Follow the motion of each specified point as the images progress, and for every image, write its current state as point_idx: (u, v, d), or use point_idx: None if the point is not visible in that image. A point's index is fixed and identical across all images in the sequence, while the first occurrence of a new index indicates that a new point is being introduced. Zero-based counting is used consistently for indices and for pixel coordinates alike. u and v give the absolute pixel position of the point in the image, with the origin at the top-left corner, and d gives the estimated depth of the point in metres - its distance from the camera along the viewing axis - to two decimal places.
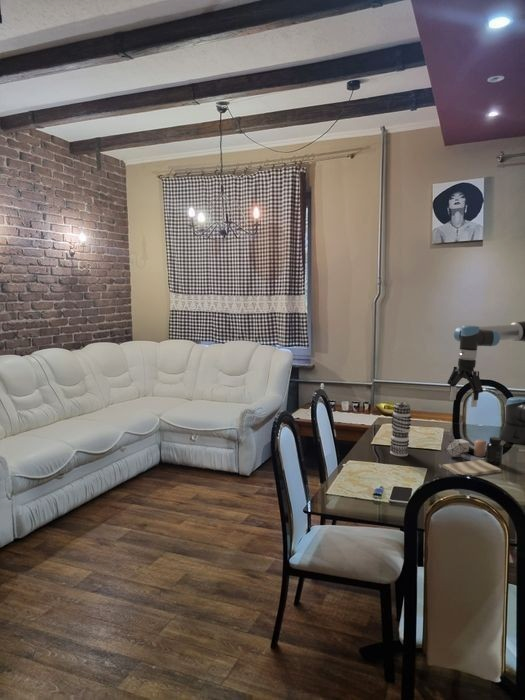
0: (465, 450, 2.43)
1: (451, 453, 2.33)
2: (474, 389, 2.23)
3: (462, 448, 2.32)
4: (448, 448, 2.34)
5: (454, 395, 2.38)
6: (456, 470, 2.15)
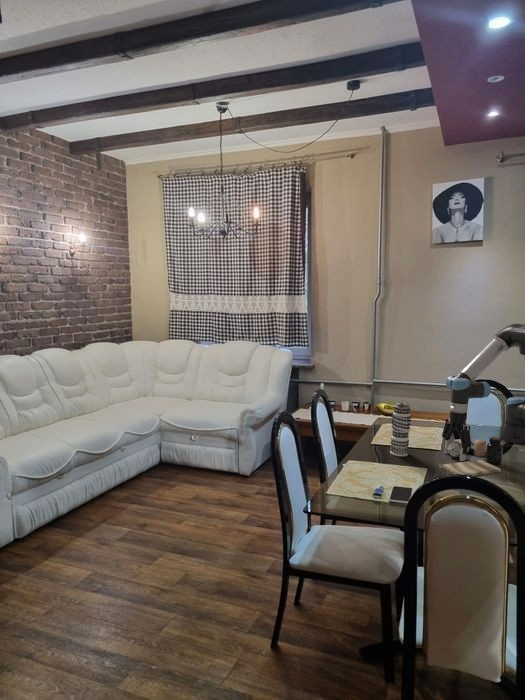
0: None
1: (451, 453, 2.33)
2: (463, 444, 2.28)
3: None
4: (448, 448, 2.34)
5: None
6: (456, 470, 2.15)
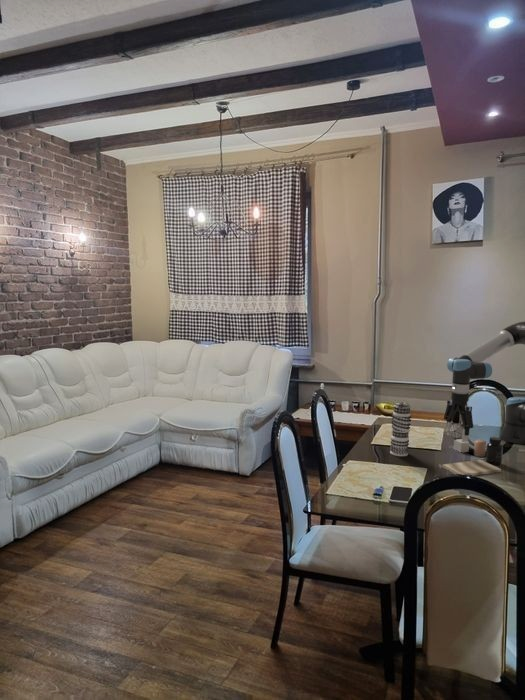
0: (465, 450, 2.43)
1: (453, 435, 2.32)
2: (465, 425, 2.27)
3: None
4: (450, 430, 2.33)
5: None
6: (456, 470, 2.15)
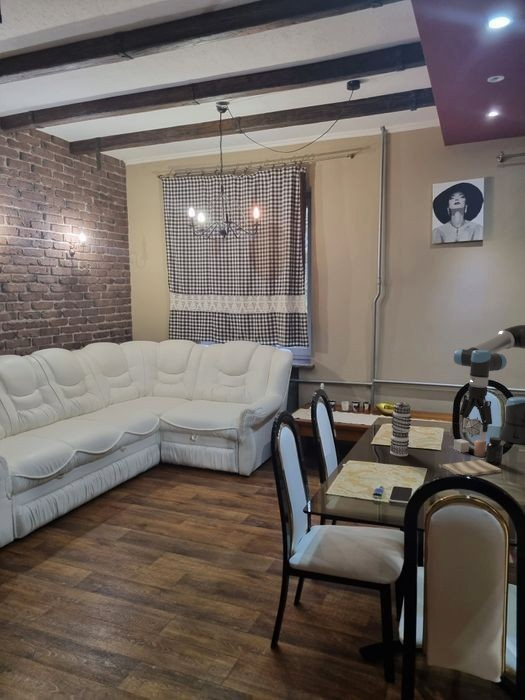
0: (465, 450, 2.43)
1: (470, 431, 2.16)
2: (483, 421, 2.11)
3: None
4: (467, 426, 2.17)
5: None
6: (456, 470, 2.15)
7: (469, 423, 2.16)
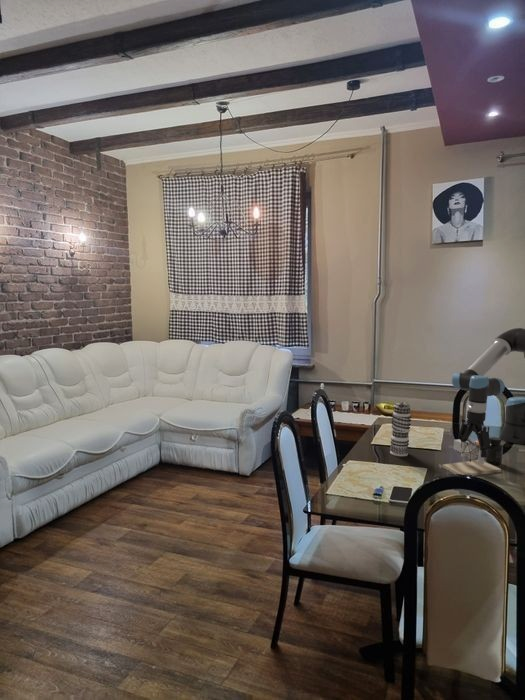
0: None
1: (469, 456, 2.17)
2: (481, 446, 2.12)
3: None
4: (465, 451, 2.18)
5: None
6: (456, 470, 2.15)
7: (467, 448, 2.17)
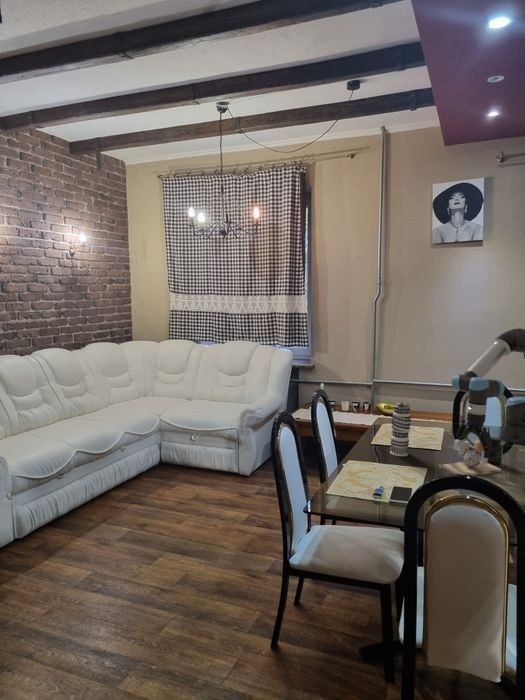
0: (465, 450, 2.43)
1: (468, 462, 2.18)
2: (484, 446, 2.11)
3: (479, 457, 2.17)
4: (464, 457, 2.19)
5: (463, 449, 2.25)
6: (456, 470, 2.15)
7: (466, 454, 2.18)
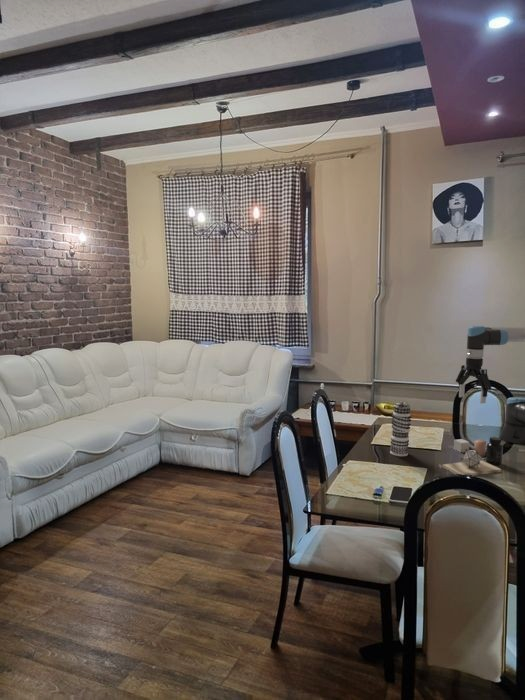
0: (465, 450, 2.43)
1: (468, 462, 2.18)
2: (483, 386, 2.34)
3: (479, 457, 2.17)
4: (464, 457, 2.19)
5: (463, 392, 2.49)
6: (456, 470, 2.15)
7: (466, 454, 2.18)
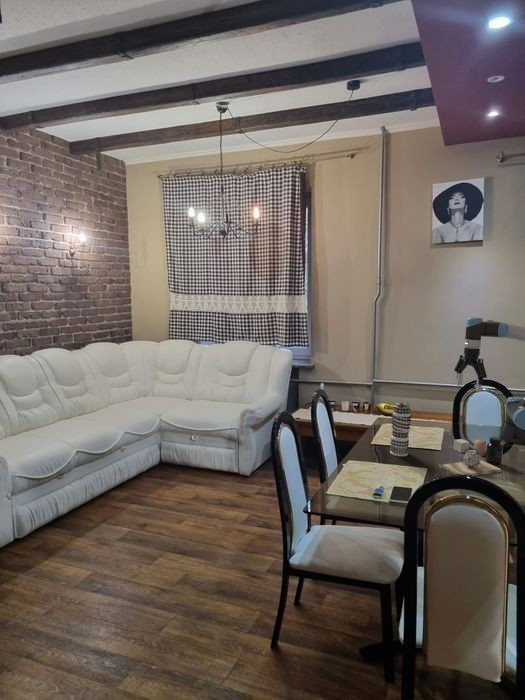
0: (465, 450, 2.43)
1: (468, 462, 2.18)
2: (479, 375, 2.47)
3: (479, 457, 2.17)
4: (464, 457, 2.19)
5: (460, 381, 2.61)
6: (456, 470, 2.15)
7: (466, 454, 2.18)
